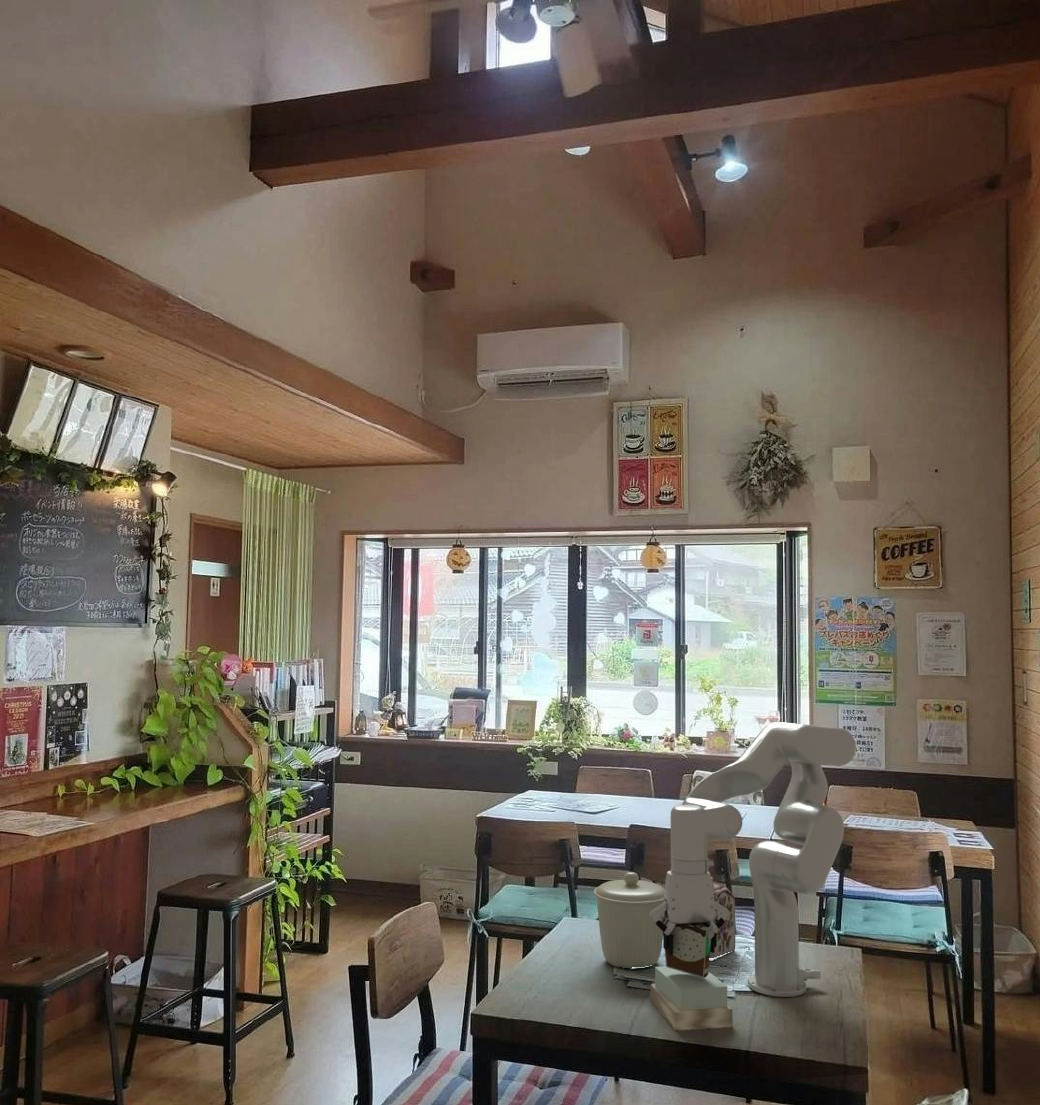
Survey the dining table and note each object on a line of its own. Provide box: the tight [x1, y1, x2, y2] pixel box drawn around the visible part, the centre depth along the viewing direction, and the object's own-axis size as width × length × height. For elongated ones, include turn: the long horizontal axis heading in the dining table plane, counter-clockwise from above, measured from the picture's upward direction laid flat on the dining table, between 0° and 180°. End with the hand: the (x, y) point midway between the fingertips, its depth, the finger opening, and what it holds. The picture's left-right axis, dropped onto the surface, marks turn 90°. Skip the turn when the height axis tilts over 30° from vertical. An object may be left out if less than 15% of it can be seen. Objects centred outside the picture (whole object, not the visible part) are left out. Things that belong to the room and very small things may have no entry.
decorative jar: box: [710, 876, 736, 958], centre depth 243 cm, size 12×12×18 cm
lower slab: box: [650, 983, 734, 1031], centre depth 203 cm, size 12×16×4 cm
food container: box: [661, 916, 714, 978], centre depth 204 cm, size 12×6×10 cm, turn 45°
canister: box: [593, 871, 665, 969], centre depth 235 cm, size 18×18×21 cm
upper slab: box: [654, 965, 728, 1011], centre depth 203 cm, size 10×14×4 cm
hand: (689, 951), depth 204 cm, fingers closed on food container, 8 cm apart
